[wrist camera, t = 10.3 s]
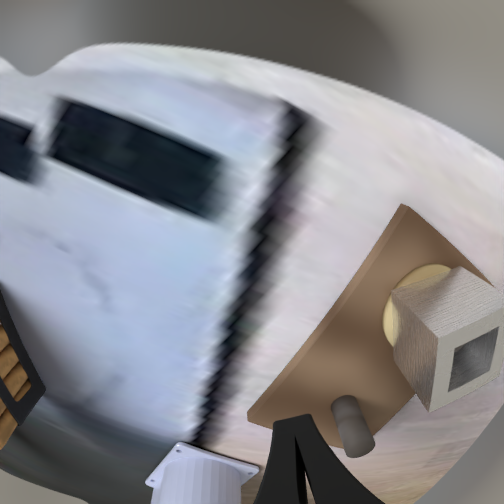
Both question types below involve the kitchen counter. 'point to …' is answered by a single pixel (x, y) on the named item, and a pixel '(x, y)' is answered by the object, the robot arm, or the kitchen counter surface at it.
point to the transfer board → (360, 343)
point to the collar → (448, 335)
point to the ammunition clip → (15, 378)
